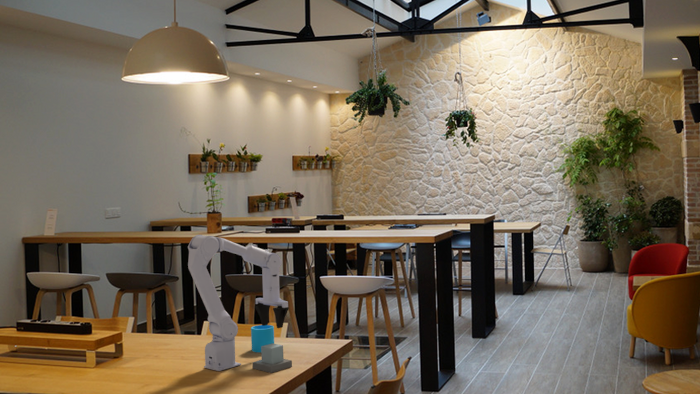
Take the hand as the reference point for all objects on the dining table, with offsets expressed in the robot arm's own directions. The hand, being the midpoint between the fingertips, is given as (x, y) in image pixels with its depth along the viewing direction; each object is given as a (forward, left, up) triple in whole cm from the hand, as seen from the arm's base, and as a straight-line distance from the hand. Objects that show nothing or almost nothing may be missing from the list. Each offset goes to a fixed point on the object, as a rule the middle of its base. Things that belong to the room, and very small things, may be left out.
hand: (272, 326), depth 230 cm
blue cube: (-10, -11, -8) cm, 17 cm away
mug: (+6, +12, -11) cm, 17 cm away
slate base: (-10, -11, -10) cm, 18 cm away
